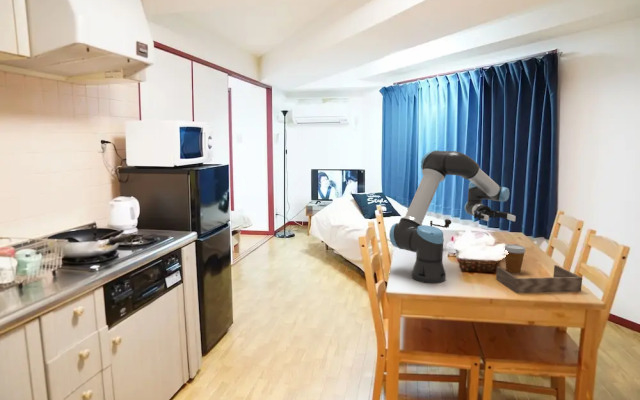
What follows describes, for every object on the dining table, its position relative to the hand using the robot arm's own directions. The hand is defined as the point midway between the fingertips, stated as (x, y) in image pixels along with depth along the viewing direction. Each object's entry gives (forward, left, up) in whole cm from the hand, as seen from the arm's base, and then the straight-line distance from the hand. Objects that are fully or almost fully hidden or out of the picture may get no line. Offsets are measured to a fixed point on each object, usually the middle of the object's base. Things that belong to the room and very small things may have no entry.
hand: (501, 218), depth 201 cm
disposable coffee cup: (+4, -7, -25) cm, 26 cm away
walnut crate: (+4, -27, -24) cm, 36 cm away
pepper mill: (-20, +36, -25) cm, 48 cm away
